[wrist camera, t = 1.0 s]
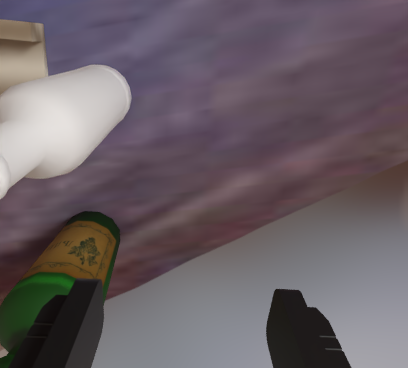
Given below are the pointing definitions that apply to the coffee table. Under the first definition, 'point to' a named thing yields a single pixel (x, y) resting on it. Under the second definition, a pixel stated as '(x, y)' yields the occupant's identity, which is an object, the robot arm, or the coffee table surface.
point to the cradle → (21, 53)
